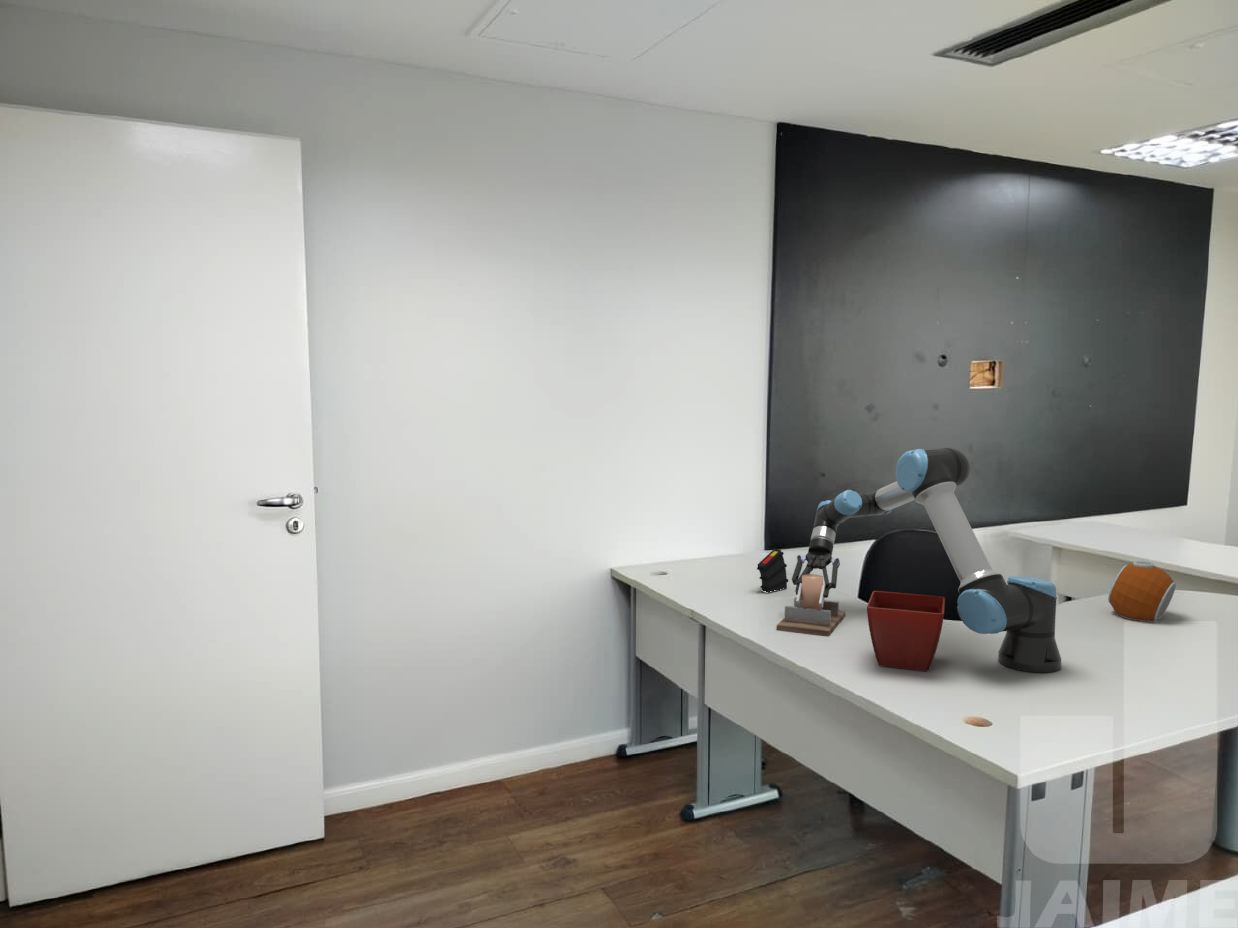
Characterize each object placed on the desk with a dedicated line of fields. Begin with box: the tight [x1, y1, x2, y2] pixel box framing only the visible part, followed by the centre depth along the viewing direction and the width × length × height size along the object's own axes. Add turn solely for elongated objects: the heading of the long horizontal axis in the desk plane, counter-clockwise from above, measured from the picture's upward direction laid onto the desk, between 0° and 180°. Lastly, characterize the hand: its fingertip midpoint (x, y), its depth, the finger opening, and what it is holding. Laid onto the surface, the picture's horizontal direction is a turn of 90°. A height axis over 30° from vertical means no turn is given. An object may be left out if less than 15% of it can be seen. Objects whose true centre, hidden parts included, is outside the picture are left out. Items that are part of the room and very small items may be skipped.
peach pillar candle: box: [802, 573, 824, 610], centre depth 267 cm, size 6×6×12 cm
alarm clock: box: [1107, 560, 1177, 622], centre depth 269 cm, size 19×18×17 cm
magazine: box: [756, 548, 789, 592], centre depth 309 cm, size 4×13×15 cm, turn 130°
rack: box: [776, 596, 847, 637], centre depth 267 cm, size 24×16×6 cm, turn 154°
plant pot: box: [866, 590, 946, 672], centre depth 228 cm, size 19×19×17 cm
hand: (809, 604), depth 264 cm, fingers closed on peach pillar candle, 6 cm apart
